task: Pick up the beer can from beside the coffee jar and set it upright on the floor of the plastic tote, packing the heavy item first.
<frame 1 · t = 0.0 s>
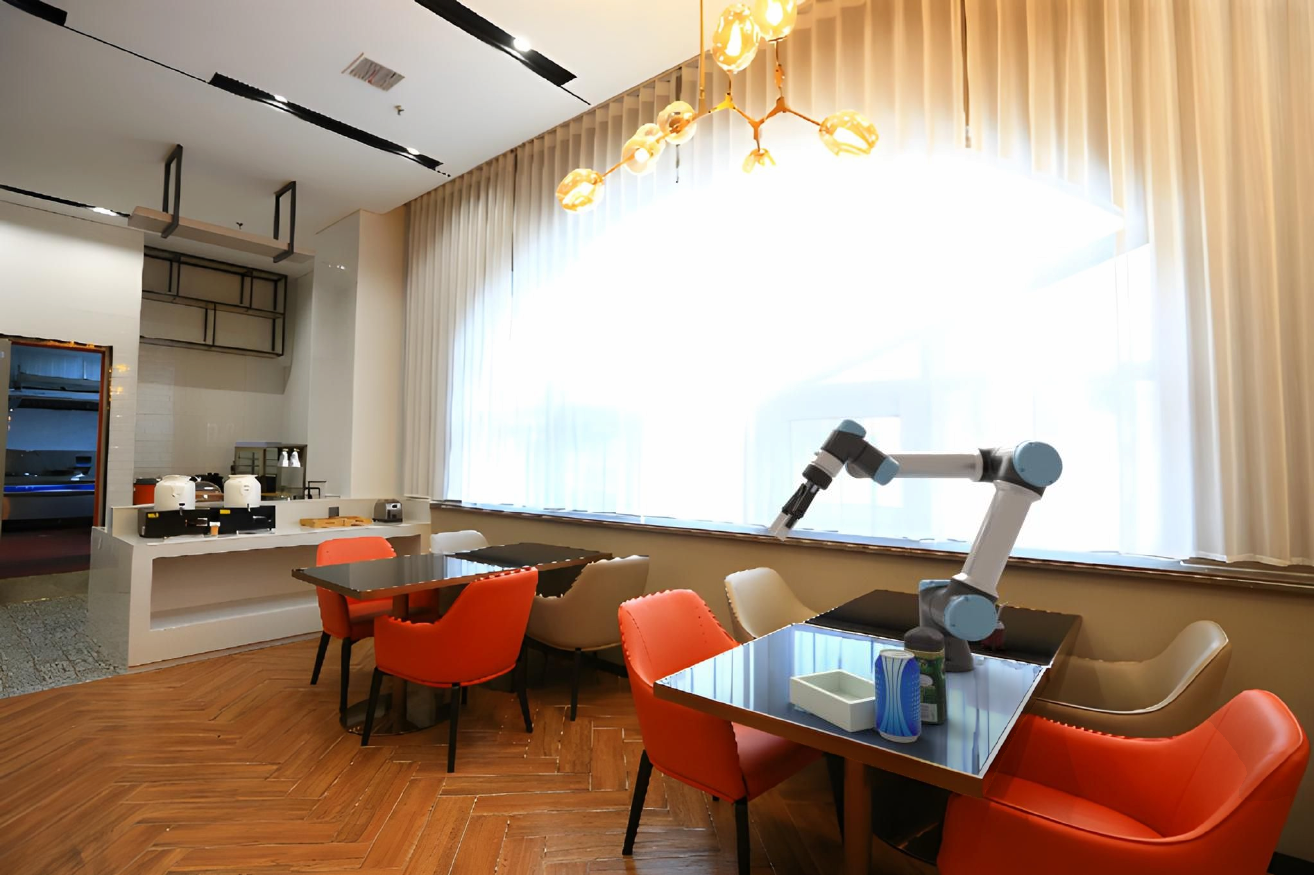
hand: (774, 536, 166), 36 cm above the table, tool tilted 35°, fingers open, 13 cm apart
tote: (845, 710, 138), on the table
beer can: (898, 736, 125), on the table
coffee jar: (926, 718, 135), on the table
mate gourd: (994, 649, 191), on the table
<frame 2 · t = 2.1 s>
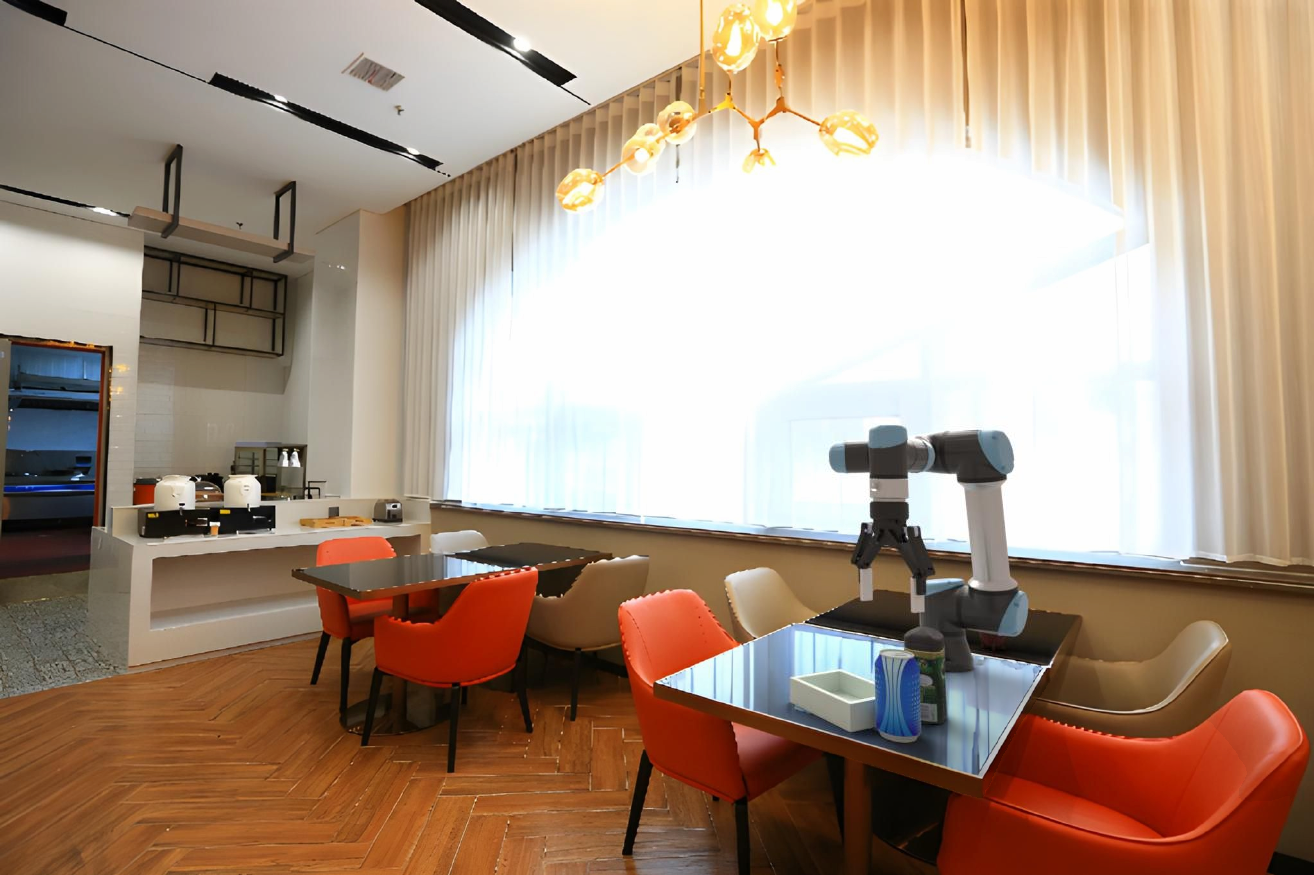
hand: (891, 606, 127), 25 cm above the table, tool pointing down, fingers open, 13 cm apart
nothing on the table moved.
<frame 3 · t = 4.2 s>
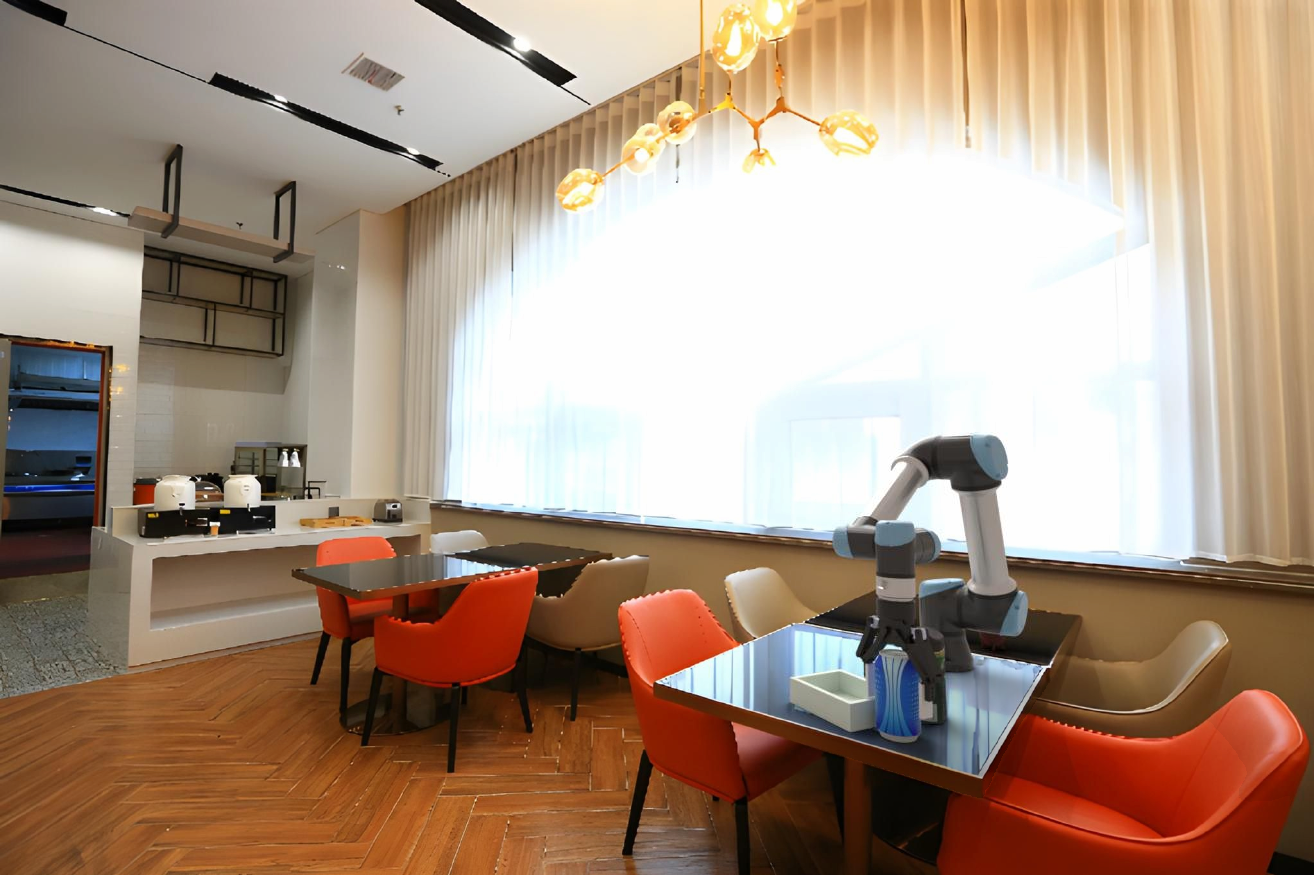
hand: (897, 706, 125), 6 cm above the table, tool pointing down, fingers open, 13 cm apart
nothing on the table moved.
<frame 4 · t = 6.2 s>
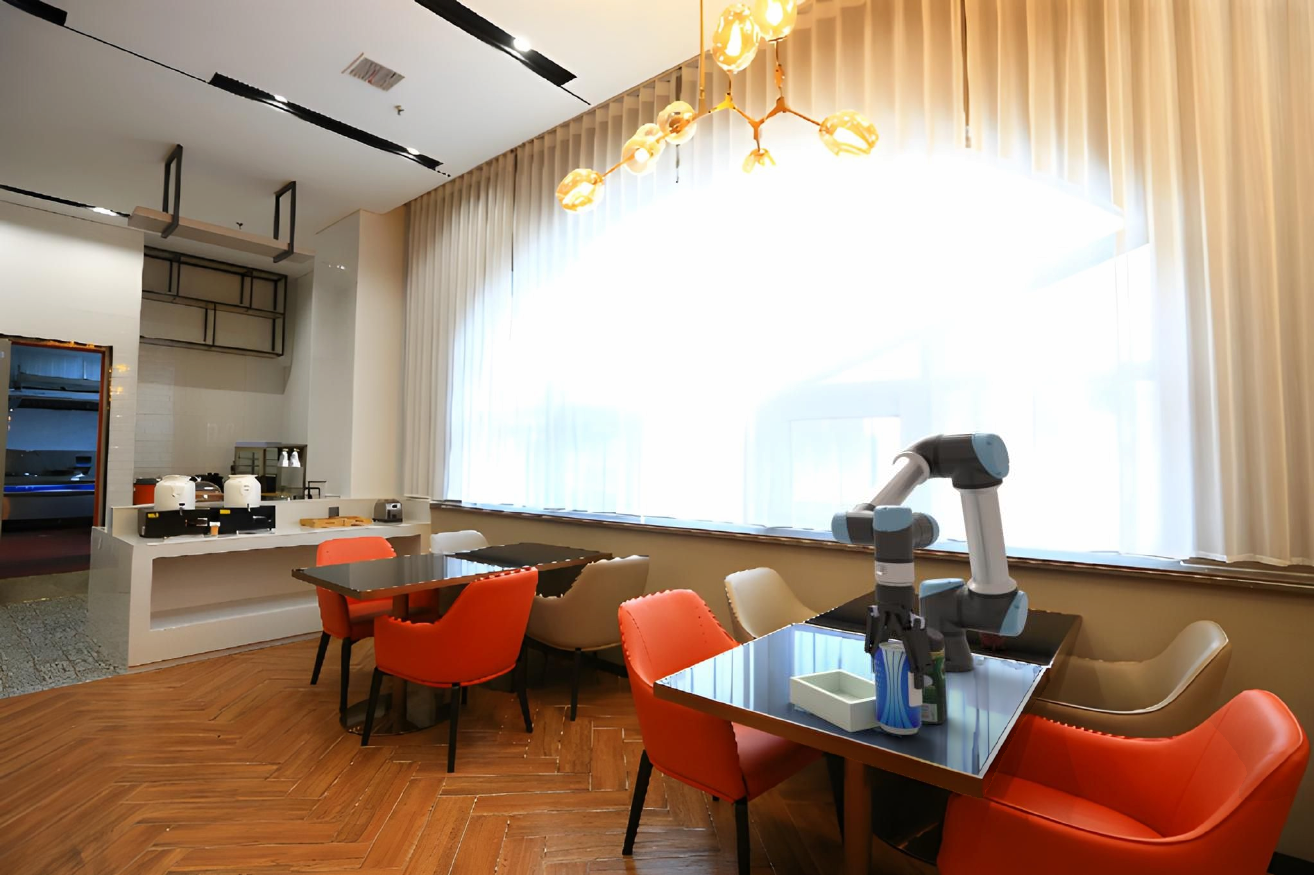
hand: (898, 698, 126), 7 cm above the table, tool pointing down, fingers closed on beer can, 8 cm apart
beer can: (899, 728, 126), point 1 cm above the table, touching gripper
everything else where it was.
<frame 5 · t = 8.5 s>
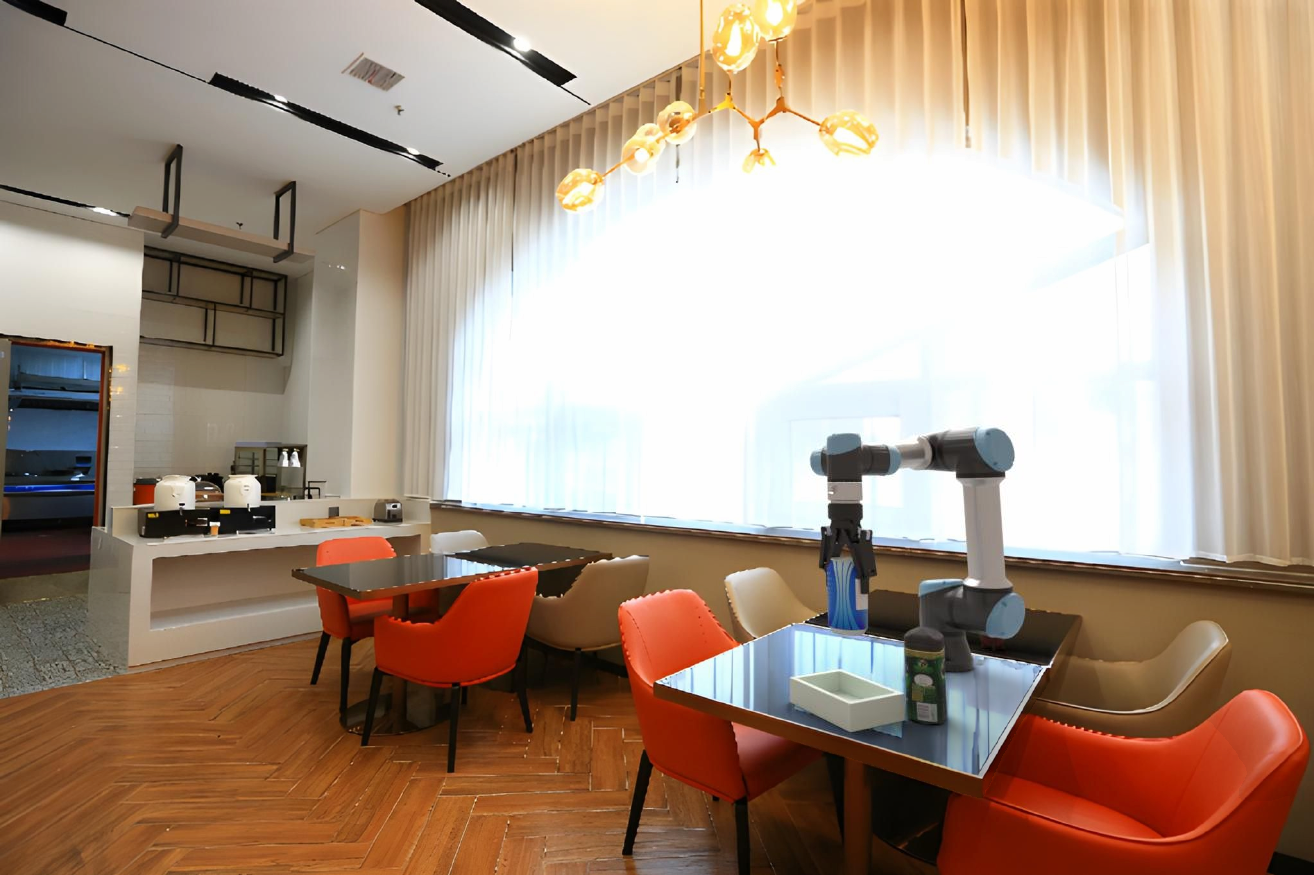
hand: (847, 605, 139), 23 cm above the table, tool pointing down, fingers closed on beer can, 8 cm apart
beer can: (848, 633, 139), point 17 cm above the table, touching gripper
everything else where it was.
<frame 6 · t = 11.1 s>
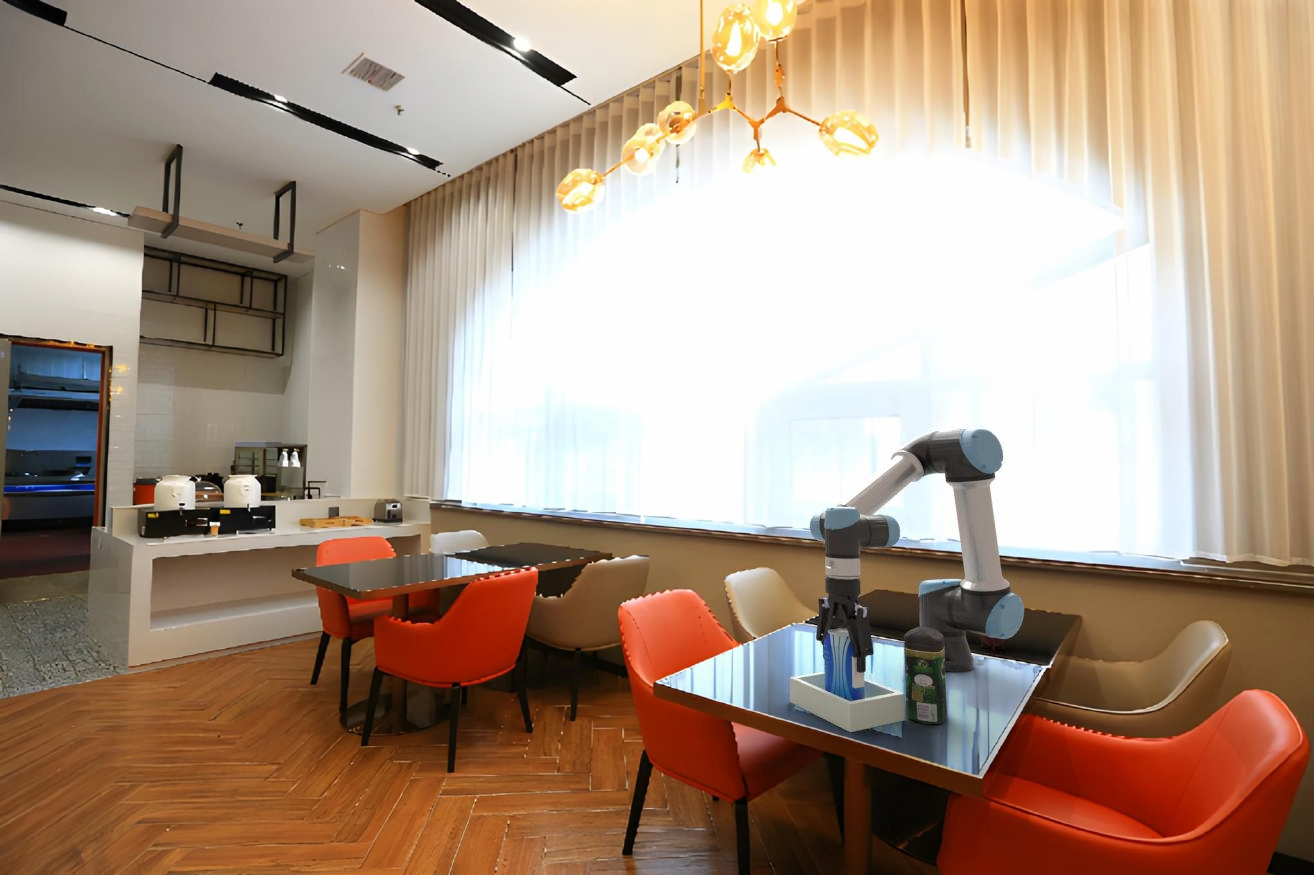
hand: (843, 681, 139), 6 cm above the table, tool pointing down, fingers closed on beer can, 8 cm apart
beer can: (844, 706, 139), point 1 cm above the table, touching gripper, tote
everything else where it was.
when the fingers open (6 cm above the table, at t = 11.6 s): beer can stays where it is, resting on tote.
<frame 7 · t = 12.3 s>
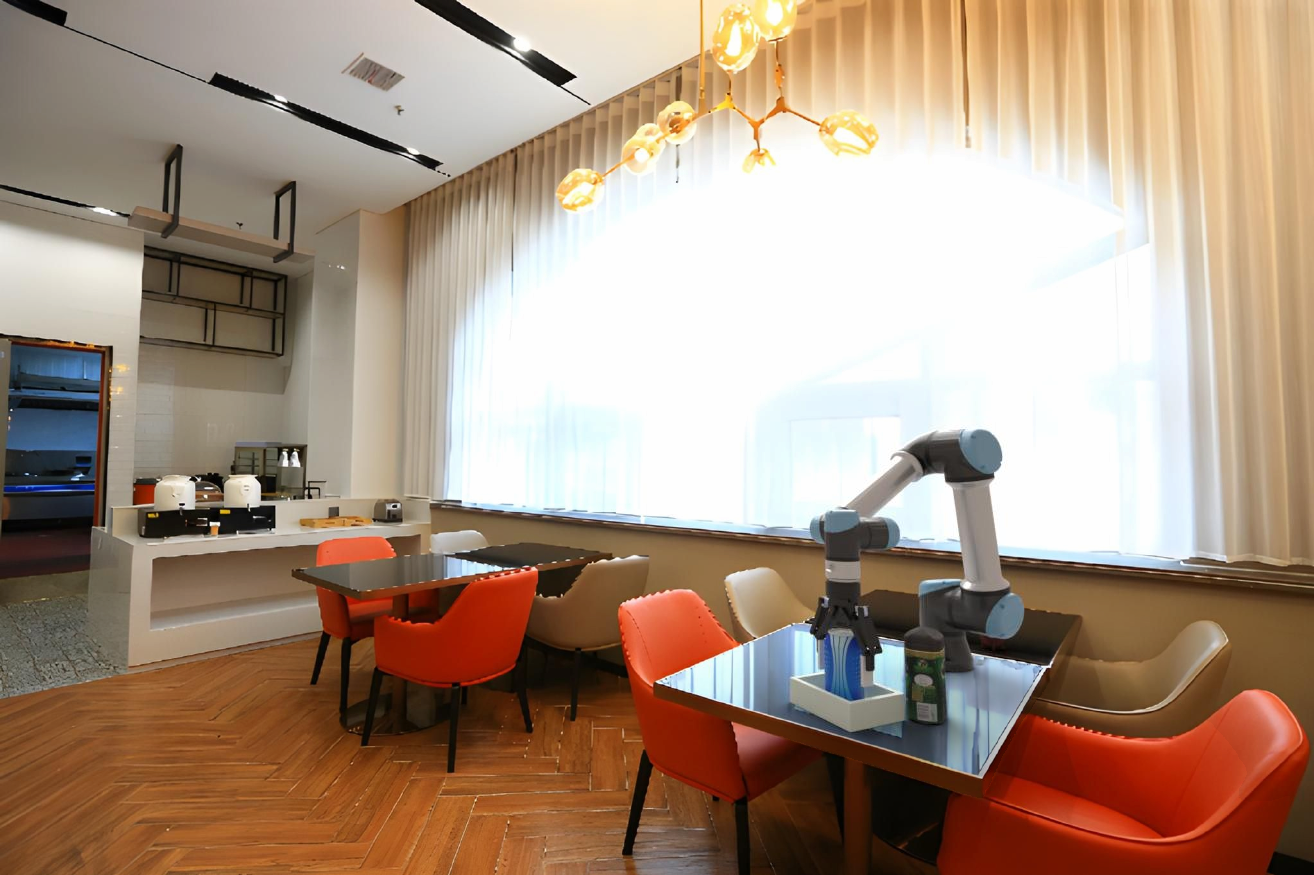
hand: (844, 677, 139), 7 cm above the table, tool pointing down, fingers open, 13 cm apart
beer can: (844, 706, 139), point 1 cm above the table, touching tote
everything else where it was.
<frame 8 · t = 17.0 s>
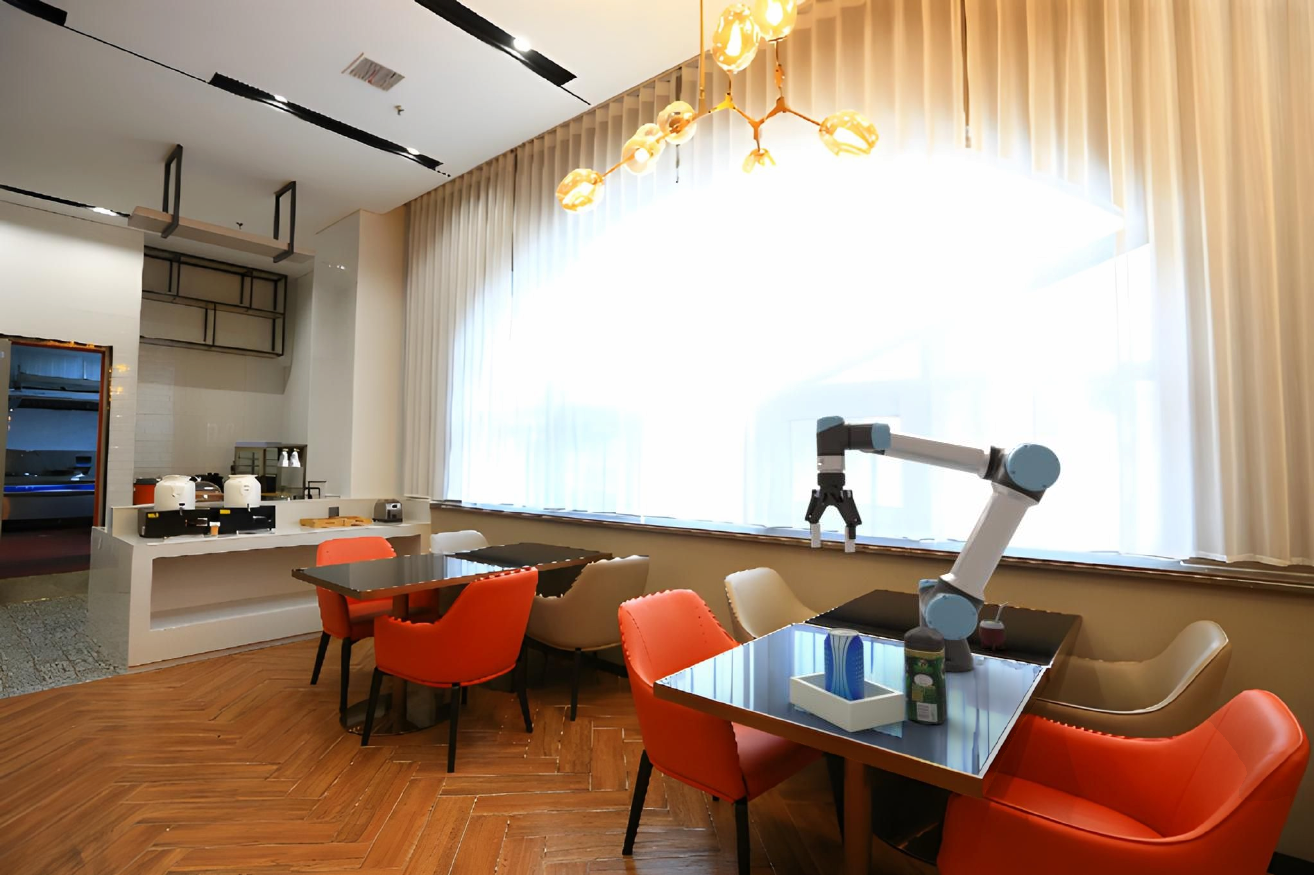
hand: (832, 549, 173), 32 cm above the table, tool pointing down, fingers open, 13 cm apart
nothing on the table moved.
at the end: beer can inside the target area on the tote (0.1 cm from its centre), point 0.8 cm above the tote's base; beer can tilted 0°; the gripper is holding nothing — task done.
